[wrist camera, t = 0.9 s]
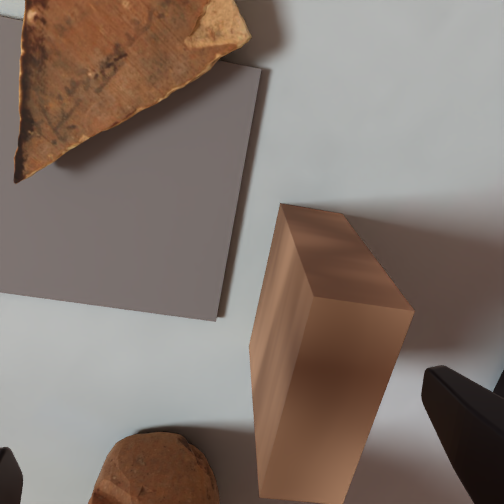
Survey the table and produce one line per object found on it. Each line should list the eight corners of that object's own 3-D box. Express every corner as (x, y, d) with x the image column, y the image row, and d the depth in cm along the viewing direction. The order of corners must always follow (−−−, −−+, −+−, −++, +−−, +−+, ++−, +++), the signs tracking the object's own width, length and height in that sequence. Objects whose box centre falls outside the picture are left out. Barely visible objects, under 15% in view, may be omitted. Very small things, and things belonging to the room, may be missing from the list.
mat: (260, 68, 18) (261, 69, 18) (216, 317, 23) (215, 321, 22) (-76, 0, 17) (-82, -1, 17) (-53, 280, 21) (-58, 284, 21)
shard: (29, 178, 19) (10, 186, 17) (-100, -3, 16) (-138, -15, 15) (255, 48, 18) (258, 43, 16) (152, -167, 15) (143, -200, 14)
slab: (343, 213, 21) (416, 311, 13) (304, 353, 24) (343, 505, 16) (280, 203, 21) (314, 296, 12) (248, 345, 24) (259, 497, 15)
